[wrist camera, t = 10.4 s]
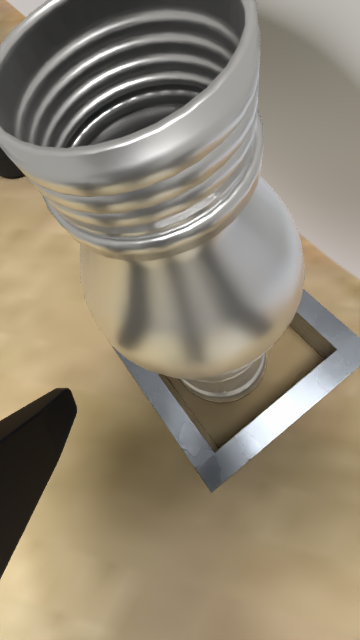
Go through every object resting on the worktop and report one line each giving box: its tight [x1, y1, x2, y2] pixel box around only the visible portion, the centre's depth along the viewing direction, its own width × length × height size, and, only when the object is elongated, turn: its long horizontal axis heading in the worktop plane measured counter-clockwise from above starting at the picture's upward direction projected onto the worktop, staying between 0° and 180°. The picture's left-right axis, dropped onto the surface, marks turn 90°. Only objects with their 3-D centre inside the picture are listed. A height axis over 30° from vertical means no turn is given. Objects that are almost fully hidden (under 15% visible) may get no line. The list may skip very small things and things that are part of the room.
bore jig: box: [112, 289, 360, 493], centre depth 21 cm, size 13×13×3 cm
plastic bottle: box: [0, 0, 305, 403], centre depth 13 cm, size 6×7×20 cm
